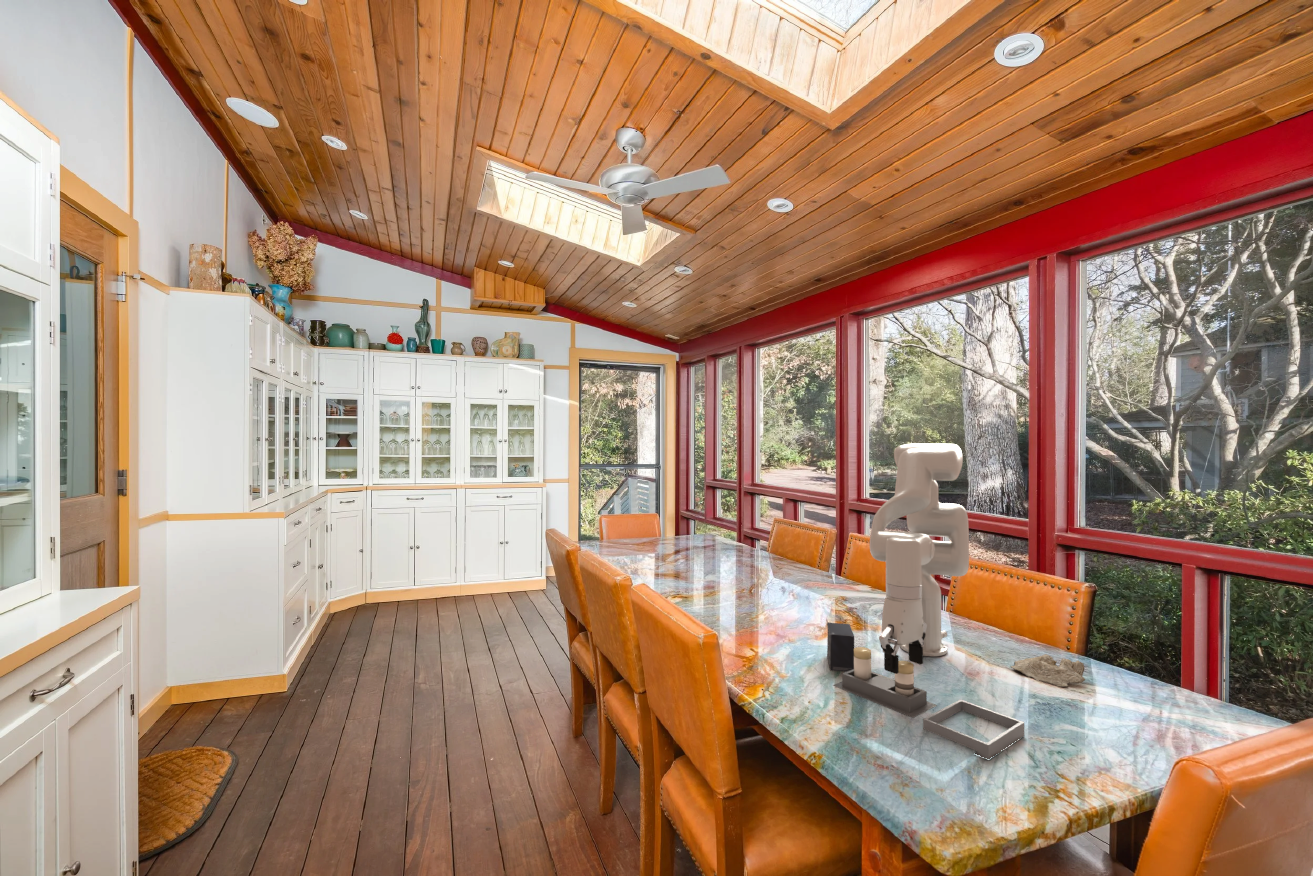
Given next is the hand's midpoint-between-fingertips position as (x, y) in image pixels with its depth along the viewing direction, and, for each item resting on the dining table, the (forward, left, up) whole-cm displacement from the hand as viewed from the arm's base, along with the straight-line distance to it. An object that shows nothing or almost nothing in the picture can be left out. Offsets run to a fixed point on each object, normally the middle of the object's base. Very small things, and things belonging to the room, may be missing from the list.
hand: (903, 667), depth 136 cm
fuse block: (0, -6, -10) cm, 11 cm away
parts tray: (0, +15, -10) cm, 18 cm away
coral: (-48, +10, -10) cm, 50 cm away
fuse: (-1, -11, -9) cm, 14 cm away
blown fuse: (0, 0, -9) cm, 9 cm away
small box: (-8, -24, -10) cm, 27 cm away
